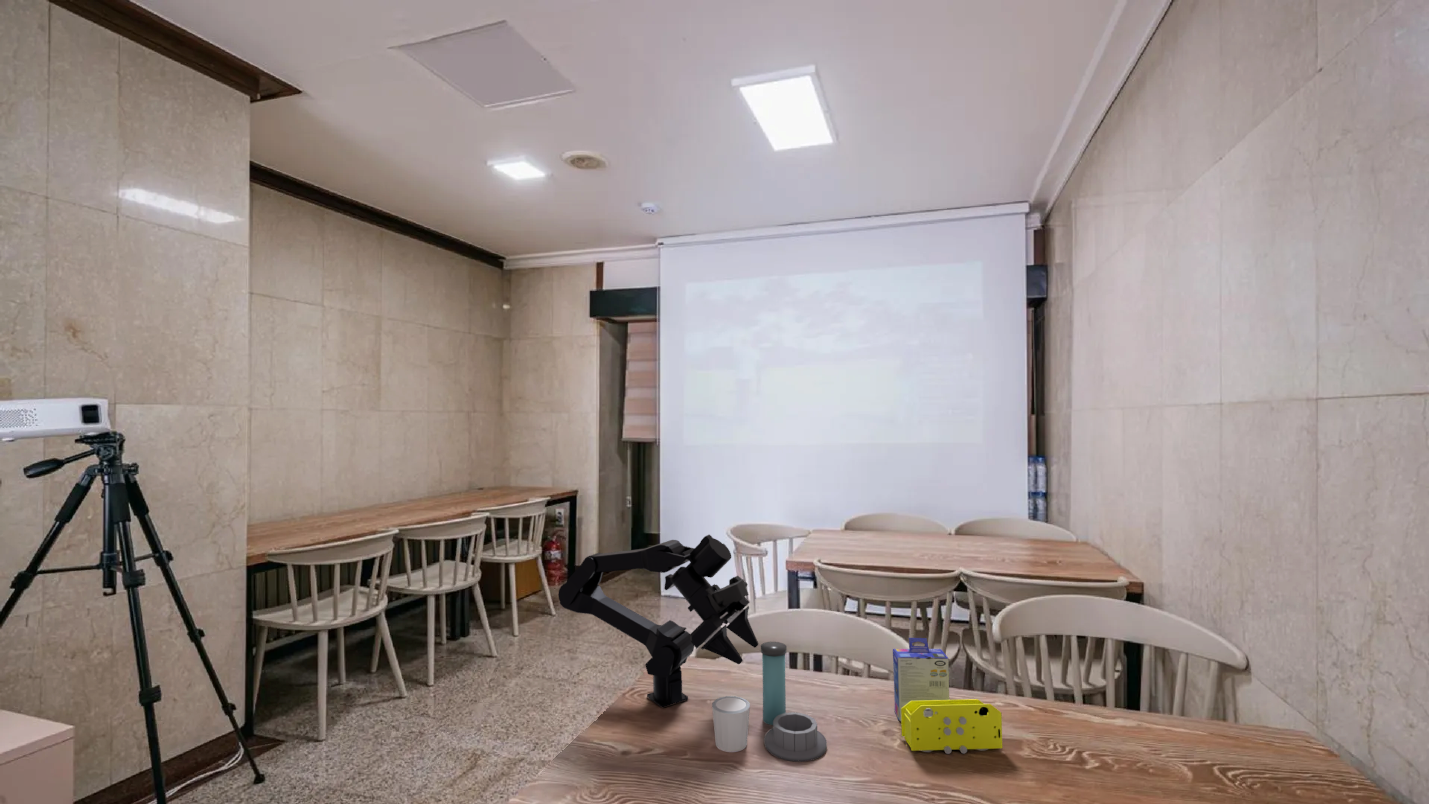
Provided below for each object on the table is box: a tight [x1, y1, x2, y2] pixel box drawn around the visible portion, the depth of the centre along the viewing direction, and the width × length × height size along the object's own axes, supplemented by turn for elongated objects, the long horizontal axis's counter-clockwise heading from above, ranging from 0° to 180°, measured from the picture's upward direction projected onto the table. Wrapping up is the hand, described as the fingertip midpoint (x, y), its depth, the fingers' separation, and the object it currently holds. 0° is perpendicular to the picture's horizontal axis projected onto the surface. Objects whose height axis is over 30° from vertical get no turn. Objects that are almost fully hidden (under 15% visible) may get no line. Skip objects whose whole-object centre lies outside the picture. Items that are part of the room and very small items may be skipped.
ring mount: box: [763, 711, 828, 763], centre depth 107 cm, size 11×11×4 cm
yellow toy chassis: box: [900, 698, 1003, 755], centre depth 107 cm, size 16×6×8 cm, turn 92°
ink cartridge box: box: [892, 637, 950, 722], centre depth 118 cm, size 10×6×14 cm, turn 86°
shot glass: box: [711, 695, 751, 753], centre depth 108 cm, size 7×7×7 cm
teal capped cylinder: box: [760, 641, 788, 726], centre depth 117 cm, size 5×5×14 cm
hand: (749, 654), depth 119 cm, fingers open, 9 cm apart
